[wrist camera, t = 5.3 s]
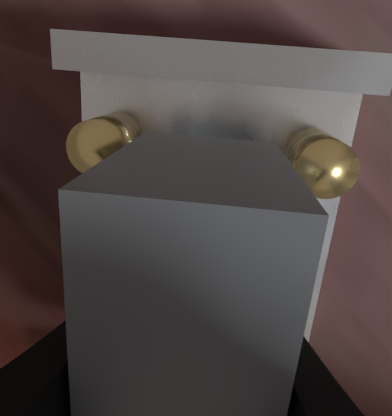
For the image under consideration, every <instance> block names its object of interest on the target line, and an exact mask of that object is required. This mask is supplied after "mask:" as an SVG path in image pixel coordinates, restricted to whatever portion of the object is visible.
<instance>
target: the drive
mask: <svg viewBox="0 0 392 416" xmlns="http://www.w3.org/2000/svg"><path fill="white" fill-rule="evenodd" d="M58 197H59V215H60V232H61V250H62V268H63V285H64V303H65V321H66V338H67V356H68V374H69V391H70V409H71V416H287V412H288V407H289V403H290V398H291V393H292V389H293V384H294V379H295V374H296V370H297V365H298V360H299V355H300V351H301V346H302V341H303V336H304V332H305V327H306V322H307V318H308V313H309V308H310V303H311V299H312V294H313V289H314V284H315V280H316V275H317V270H318V265H319V261H320V256H321V251H322V246H323V242H324V237H325V232H326V228H327V223H328V218H329V215H328V213H327V212H326V211H325V209H324V208H323V207H322V205H321V204H320V203H319V201H318V200H317V199H316V197H315V196H314V195H313V193H312V192H311V190H310V189H309V188H308V186H307V185H306V184H305V182H304V181H303V180H302V178H301V177H300V176H299V174H298V173H297V171H296V170H295V169H294V167H293V166H292V165H291V163H290V162H289V161H288V159H287V158H286V157H285V155H284V154H283V153H282V151H281V150H280V148H279V147H278V146H277V144H276V143H270V142H258V141H247V140H235V139H224V138H212V137H201V136H189V135H178V134H166V133H155V132H145V133H143V134H142V135H140V136H139V137H137V138H136V139H134V140H133V141H131V142H130V143H128V144H127V145H125V146H124V147H122V148H121V149H119V150H117V151H116V152H114V153H113V154H111V155H110V156H108V157H107V158H105V159H104V160H102V161H101V162H99V163H98V164H96V165H95V166H93V167H92V168H90V169H88V170H87V171H85V172H84V173H82V174H81V175H79V176H78V177H76V178H75V179H73V180H72V181H70V182H69V183H67V184H66V185H64V186H62V187H61V188H59V189H58Z"/></svg>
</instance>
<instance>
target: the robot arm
mask: <svg viewBox="0 0 392 416" xmlns="http://www.w3.org/2000/svg"><path fill="white" fill-rule="evenodd" d="M0 416H71V409H70V391H69V374H68V356H67V338H66V321H64V322H63V323H62V324H60V325H59V326H58V327H57V328H55V329H54V330H53V331H51V332H50V333H49V334H48V335H46V336H45V337H44V338H42V339H41V340H40V341H38V342H37V343H36V344H34V345H33V346H32V347H30V348H29V349H28V350H26V351H25V352H24V353H22V354H21V355H20V356H18V357H17V358H15V359H14V360H12V361H11V362H10V363H8V364H7V365H5V366H4V367H2V368H1V369H0ZM287 416H364V415H363V413H362V412H361V411H360V410H359V408H358V407H357V406H356V405H355V404H354V402H353V401H352V400H351V398H350V397H349V396H348V395H347V393H346V392H345V391H344V390H343V388H342V387H341V386H340V384H339V383H338V382H337V381H336V379H335V378H334V377H333V375H332V374H331V373H330V371H329V370H328V369H327V367H326V366H325V365H324V363H323V362H322V361H321V359H320V358H319V357H318V355H317V354H316V352H315V351H314V350H313V348H312V347H311V345H310V344H309V343H308V341H307V340H306V338H305V337H304V336H303V341H302V346H301V351H300V355H299V360H298V365H297V370H296V374H295V379H294V384H293V389H292V393H291V398H290V403H289V407H288V412H287Z"/></svg>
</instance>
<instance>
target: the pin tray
mask: <svg viewBox="0 0 392 416" xmlns="http://www.w3.org/2000/svg"><path fill="white" fill-rule="evenodd" d="M50 37H51V55H52V69H56V70H69V71H80V79H81V110H82V122H80V123H78V124H77V125H75V126H74V127H73V128H72V129H71V131H70V132H69V134H68V137H67V141H66V151H67V155H68V158H69V160H70V162H71V163H72V165H73V166H74V167H75V168H76V169H77V170H78V171H80V172H81V173H84V172H85V171H87V170H88V169H90V168H92V167H93V166H95V165H96V164H98V163H99V162H101V161H102V160H104V159H105V158H107V157H108V156H110V155H111V154H113V153H114V152H116V151H117V150H119V149H121V148H122V147H124V146H125V145H127V144H128V143H130V142H131V141H133V140H134V139H136V138H137V137H139V136H140V135H142V134H143V133H145V132H155V133H166V134H178V135H189V136H201V137H212V138H224V139H235V140H247V141H258V142H270V143H276V144H277V146H278V147H279V148H280V150H281V151H282V153H283V154H284V155H285V157H286V158H287V159H288V161H289V162H290V163H291V165H292V166H293V167H294V169H295V170H296V171H297V173H298V174H299V176H300V177H301V178H302V180H303V181H304V182H305V184H306V185H307V186H308V188H309V189H310V190H311V192H312V193H313V195H314V196H315V197H316V199H317V200H318V201H319V203H320V204H321V205H322V207H323V208H324V209H325V211H326V212H327V213H328V215H329V218H328V223H327V228H326V232H325V237H324V242H323V246H322V251H321V256H320V261H319V265H318V270H317V275H316V280H315V284H314V289H313V294H312V299H311V303H310V308H309V313H308V318H307V322H306V327H305V332H304V337H305V338H306V340H307V341H308V342H309V337H310V333H311V328H312V323H313V319H314V314H315V310H316V305H317V301H318V296H319V292H320V287H321V282H322V278H323V273H324V269H325V264H326V260H327V255H328V251H329V246H330V241H331V237H332V232H333V228H334V223H335V219H336V214H337V209H338V205H339V200H340V196H341V195H343V194H345V193H346V192H347V191H349V190H350V189H351V188H352V187H353V185H354V184H355V182H356V181H357V178H358V176H359V171H360V163H359V159H358V156H357V154H356V153H355V151H354V150H353V149H352V148H351V146H352V141H353V137H354V132H355V127H356V123H357V118H358V114H359V109H360V105H361V100H362V96H363V94H372V95H385V96H390V92H391V88H392V54H390V53H376V52H362V51H349V50H335V49H321V48H308V47H294V46H280V45H267V44H253V43H239V42H226V41H212V40H198V39H184V38H171V37H157V36H143V35H130V34H116V33H102V32H89V31H75V30H61V29H50Z"/></svg>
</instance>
